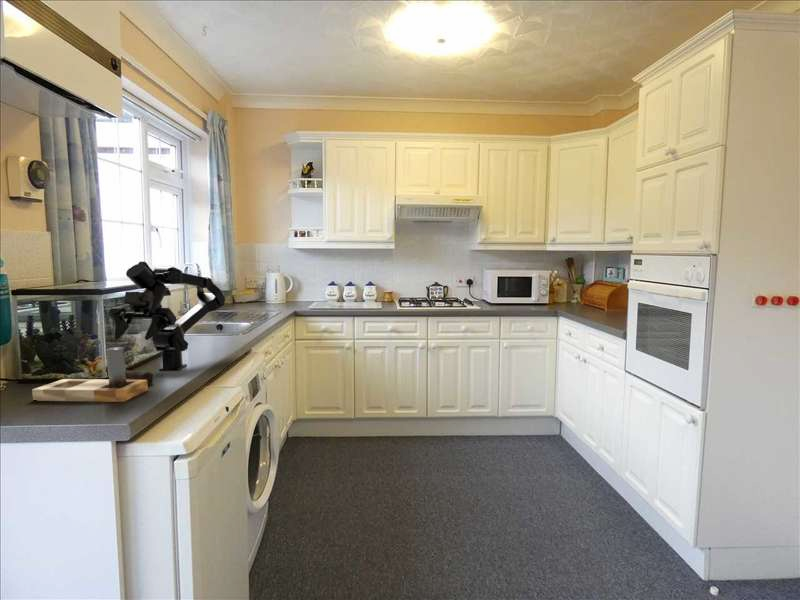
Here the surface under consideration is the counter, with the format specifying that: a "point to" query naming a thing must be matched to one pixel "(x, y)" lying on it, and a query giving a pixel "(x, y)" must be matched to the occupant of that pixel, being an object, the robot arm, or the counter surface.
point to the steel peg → (116, 367)
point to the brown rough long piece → (137, 375)
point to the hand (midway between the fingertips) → (131, 339)
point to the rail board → (88, 390)
